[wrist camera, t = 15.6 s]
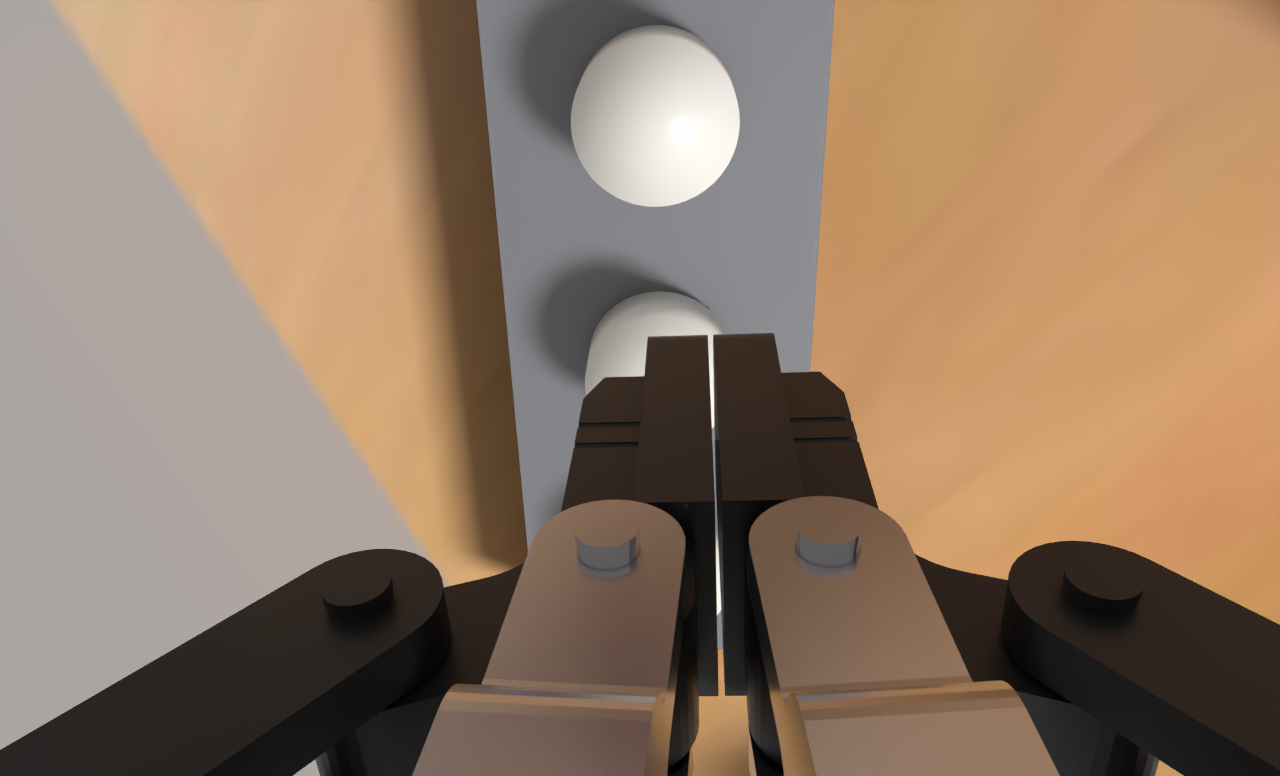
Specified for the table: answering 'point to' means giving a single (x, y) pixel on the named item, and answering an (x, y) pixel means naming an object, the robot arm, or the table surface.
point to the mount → (640, 235)
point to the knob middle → (646, 334)
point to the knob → (655, 116)
